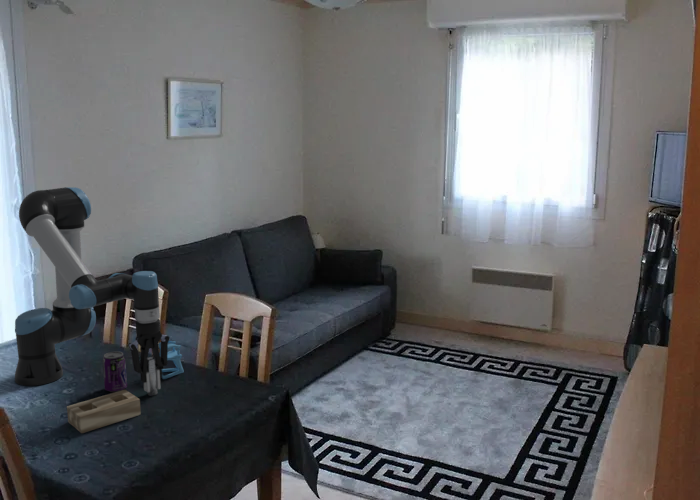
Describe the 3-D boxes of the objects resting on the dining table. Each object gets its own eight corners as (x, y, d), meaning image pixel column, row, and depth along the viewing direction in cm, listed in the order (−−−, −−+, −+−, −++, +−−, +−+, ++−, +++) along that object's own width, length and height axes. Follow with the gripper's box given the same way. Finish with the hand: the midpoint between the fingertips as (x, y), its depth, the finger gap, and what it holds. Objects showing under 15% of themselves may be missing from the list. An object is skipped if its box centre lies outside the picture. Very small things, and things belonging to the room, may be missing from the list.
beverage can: (120, 394, 222) (117, 359, 219) (100, 392, 223) (97, 357, 221) (131, 385, 228) (128, 351, 226) (112, 384, 230) (109, 350, 228)
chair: (186, 374, 238) (184, 341, 236) (163, 379, 234) (161, 346, 231) (178, 367, 244) (176, 335, 242) (155, 372, 240) (153, 340, 238)
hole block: (68, 422, 202) (66, 406, 201) (126, 404, 214) (125, 389, 213) (81, 433, 195) (80, 417, 194) (140, 414, 206) (139, 399, 205)
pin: (146, 393, 222) (143, 358, 219) (154, 391, 224) (152, 356, 221) (150, 396, 220) (148, 361, 217) (159, 393, 222) (156, 358, 219)
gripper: (129, 328, 209) (134, 399, 213) (176, 317, 219) (180, 386, 224) (118, 322, 214) (123, 392, 219) (165, 312, 225) (169, 379, 230)
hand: (152, 389), depth 221 cm, fingers closed on pin, 3 cm apart
